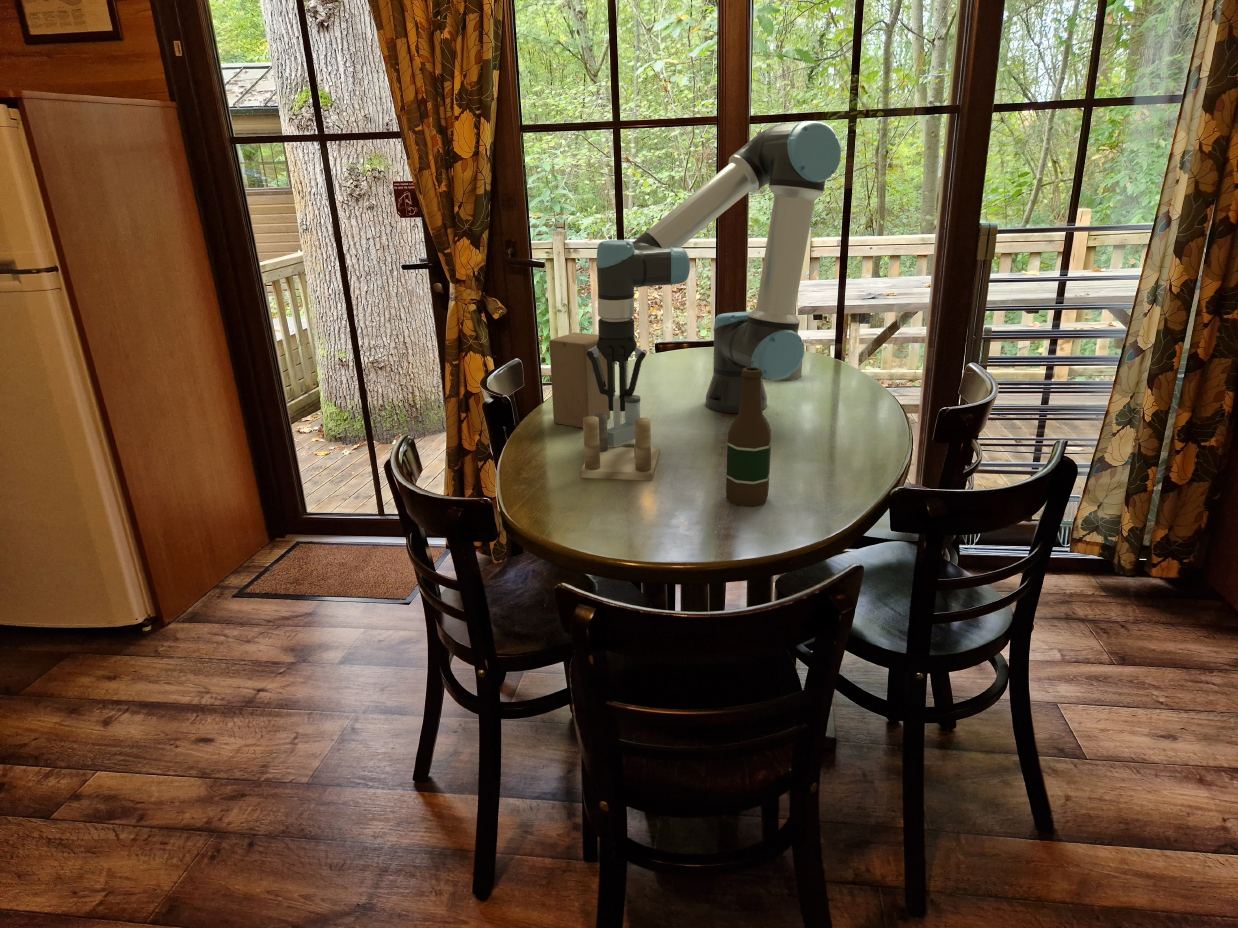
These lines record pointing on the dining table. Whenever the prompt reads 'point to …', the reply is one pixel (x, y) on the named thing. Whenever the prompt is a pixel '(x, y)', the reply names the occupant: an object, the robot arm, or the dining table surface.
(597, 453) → the wooden twin post stand
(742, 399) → the beer bottle
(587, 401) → the wooden block
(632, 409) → the hinged leg
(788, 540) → the dining table surface
